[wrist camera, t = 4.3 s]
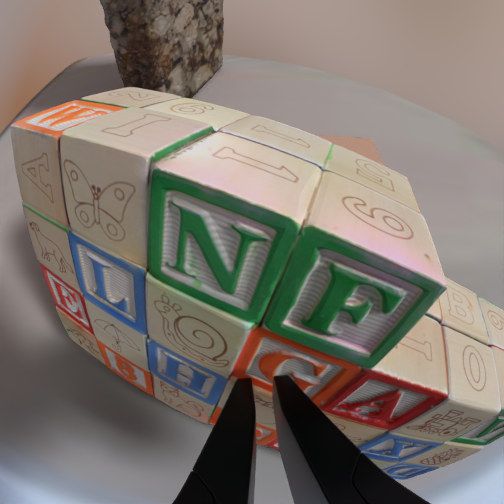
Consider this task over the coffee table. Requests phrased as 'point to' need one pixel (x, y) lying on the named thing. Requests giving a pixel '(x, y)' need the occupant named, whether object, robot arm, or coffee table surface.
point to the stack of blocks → (257, 273)
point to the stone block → (166, 43)
